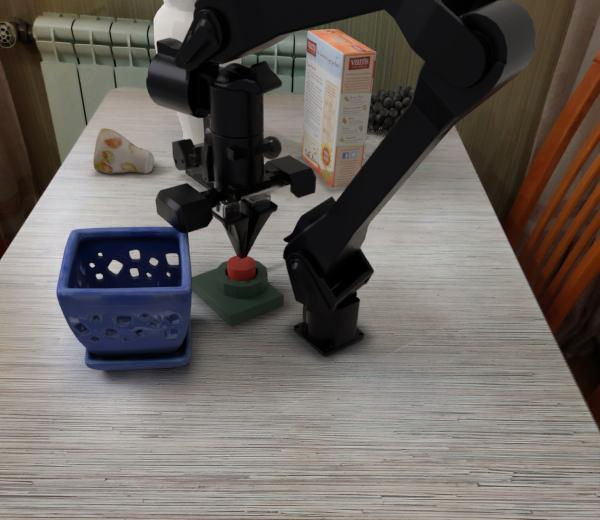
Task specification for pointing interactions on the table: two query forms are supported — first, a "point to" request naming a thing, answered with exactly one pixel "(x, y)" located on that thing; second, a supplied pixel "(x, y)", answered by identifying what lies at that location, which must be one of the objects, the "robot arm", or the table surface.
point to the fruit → (388, 107)
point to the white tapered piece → (120, 154)
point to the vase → (175, 25)
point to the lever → (273, 148)
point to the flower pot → (128, 297)
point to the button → (241, 268)
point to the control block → (237, 294)
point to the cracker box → (336, 104)
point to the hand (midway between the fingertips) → (241, 256)
